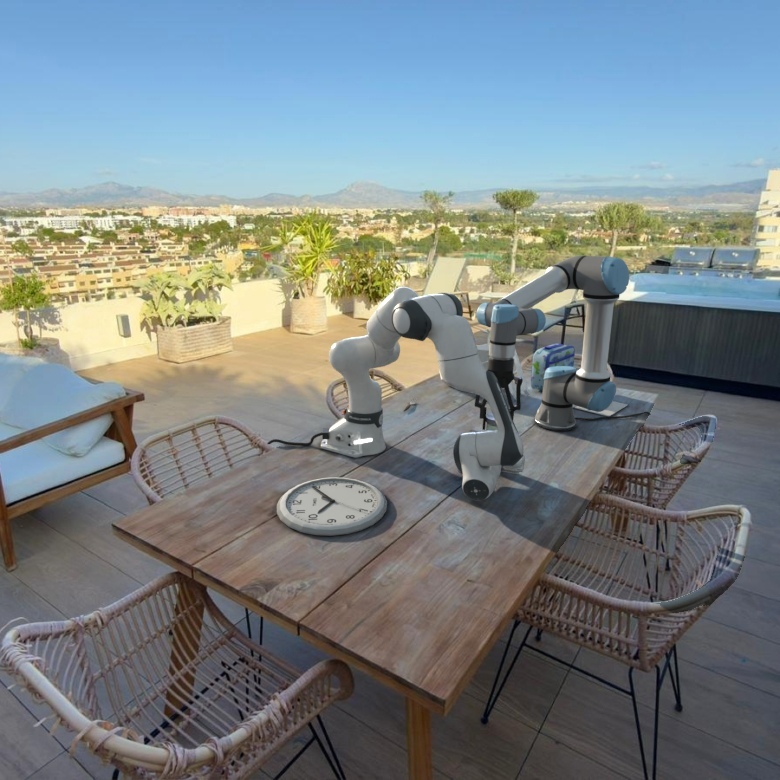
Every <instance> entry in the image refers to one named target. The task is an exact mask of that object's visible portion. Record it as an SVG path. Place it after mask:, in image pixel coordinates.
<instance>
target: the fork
mask: <svg viewBox="0 0 780 780" xmlns="http://www.w3.org/2000/svg"><path fill="white" fill-rule="evenodd" d="M418 398H419V397H418V396H413V397H412V398H411V400H410V402H409V404H408V405H407V406H406V407H405V409H404V410H403V412H405V411H407V410H408V409H410V408H411V406H412V405H416V404H417V402H418Z"/></svg>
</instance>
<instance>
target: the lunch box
mask: <svg viewBox="0 0 780 780" xmlns="http://www.w3.org/2000/svg"><path fill="white" fill-rule="evenodd" d="M575 352H576V351H575V346H573V345H568V344H562V343H553V344H550V345H547V346H546V345H545V346H544V347H541V348H538V349H537V350H536V351H535V352H534V354H533V357H532V362H531V371H530V372H531V374H530V387H531V389H533V390H539V391H543V381H544V379H543V378H544V375H545V371H546V369H547V368H549V367H555V366H571V367H574V363H575Z"/></svg>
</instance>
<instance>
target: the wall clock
mask: <svg viewBox="0 0 780 780" xmlns="http://www.w3.org/2000/svg"><path fill="white" fill-rule="evenodd" d="M387 509H388V500H387V498H386V496H385V494H384V493H383V492H382V491H381V490H380V489H379V488H377V487H376V486H374V485H372V484H371V483H369V482H365V481H362V480H359V479H355V478H349V477H338V476H337V477H335V476H333V477H332V476H331V477H322V478H317V479H312V480H307V481H305V482H302V483H299V484H297V485H295V486H293V487H292V488H290V489H288V490H287V491H286V492H285V493H284V494H283V495H281V496H280V498H279V499H278V502H277V503H276V515H277V517H278V518H279V520H280V521H281V522H282V523H283V524H285V525H286V526H287V527H288V528H290V529H293V530H295V531H297V532H299V533H303V534H308V535H312V536H327V537H328V536H329V537H331V536H332V537H333V536H342V535H350V534H352V533H356V532H361V531H363V530H366V529H368V528H369V527H372V526H373V525H375V524H376V523H378V522H379V521H380V520H381V519H382V518H383V517H384V516H385V514H386V512H387Z"/></svg>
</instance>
